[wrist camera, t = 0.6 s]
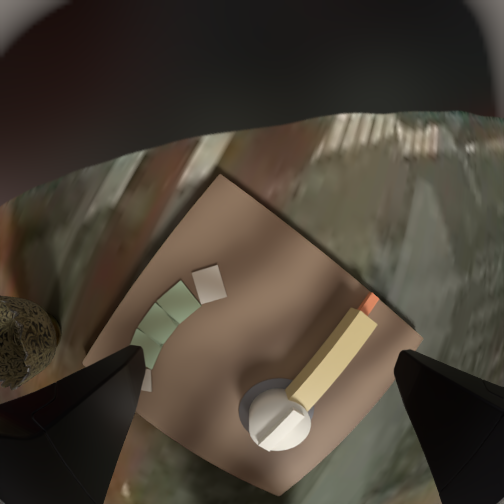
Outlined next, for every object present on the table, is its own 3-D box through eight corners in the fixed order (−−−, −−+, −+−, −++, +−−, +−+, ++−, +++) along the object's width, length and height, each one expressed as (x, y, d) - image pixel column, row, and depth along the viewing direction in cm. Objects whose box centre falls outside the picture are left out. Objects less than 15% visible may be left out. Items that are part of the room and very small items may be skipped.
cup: (38, 277, 22) (-19, 275, 14) (89, 320, 22) (32, 334, 14) (20, 336, 21) (-32, 348, 13) (67, 381, 21) (17, 408, 13)
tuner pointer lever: (280, 441, 20) (284, 463, 16) (237, 416, 20) (236, 436, 17) (389, 310, 21) (409, 315, 17) (351, 278, 21) (367, 278, 18)
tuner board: (416, 336, 22) (424, 338, 20) (277, 489, 20) (279, 497, 19) (221, 178, 23) (219, 172, 21) (88, 359, 21) (80, 363, 20)
